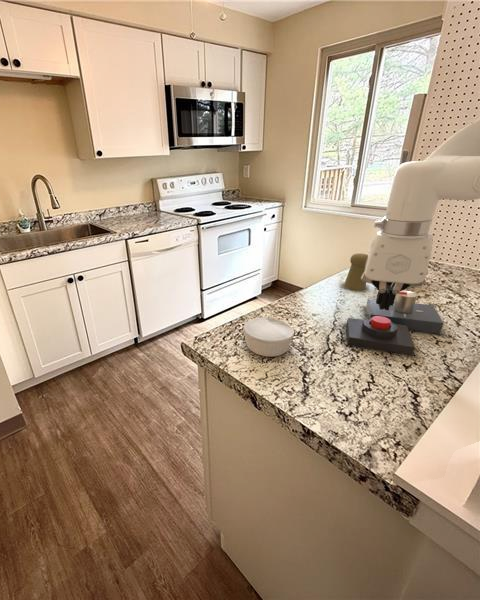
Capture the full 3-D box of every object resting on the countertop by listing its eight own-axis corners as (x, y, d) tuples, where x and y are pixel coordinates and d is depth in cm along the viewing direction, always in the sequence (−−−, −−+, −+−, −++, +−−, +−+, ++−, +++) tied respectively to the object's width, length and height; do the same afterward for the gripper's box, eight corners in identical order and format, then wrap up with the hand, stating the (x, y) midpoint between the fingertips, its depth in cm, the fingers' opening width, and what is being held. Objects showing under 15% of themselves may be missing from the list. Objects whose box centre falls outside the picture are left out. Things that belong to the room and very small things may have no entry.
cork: (342, 282, 104) (348, 251, 99) (363, 283, 102) (370, 251, 97) (345, 290, 99) (351, 257, 94) (367, 291, 97) (375, 257, 92)
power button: (388, 323, 73) (389, 317, 73) (390, 331, 70) (392, 324, 70) (369, 321, 75) (371, 314, 74) (371, 328, 72) (372, 322, 71)
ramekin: (299, 343, 75) (301, 325, 73) (279, 366, 69) (282, 346, 66) (255, 330, 83) (257, 312, 81) (234, 349, 76) (235, 330, 74)
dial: (410, 307, 80) (415, 290, 78) (414, 314, 77) (419, 296, 75) (391, 305, 82) (396, 288, 80) (394, 311, 79) (398, 294, 77)
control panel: (429, 315, 81) (433, 304, 80) (439, 334, 74) (444, 322, 72) (365, 307, 88) (367, 297, 87) (368, 324, 80) (371, 313, 79)
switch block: (404, 333, 75) (408, 318, 74) (412, 355, 68) (417, 340, 66) (346, 324, 81) (349, 311, 79) (347, 345, 73) (350, 330, 71)
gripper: (362, 230, 63) (345, 309, 71) (460, 232, 56) (429, 320, 64) (360, 222, 69) (344, 296, 77) (448, 224, 62) (421, 305, 70)
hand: (383, 307), depth 71 cm, fingers closed
